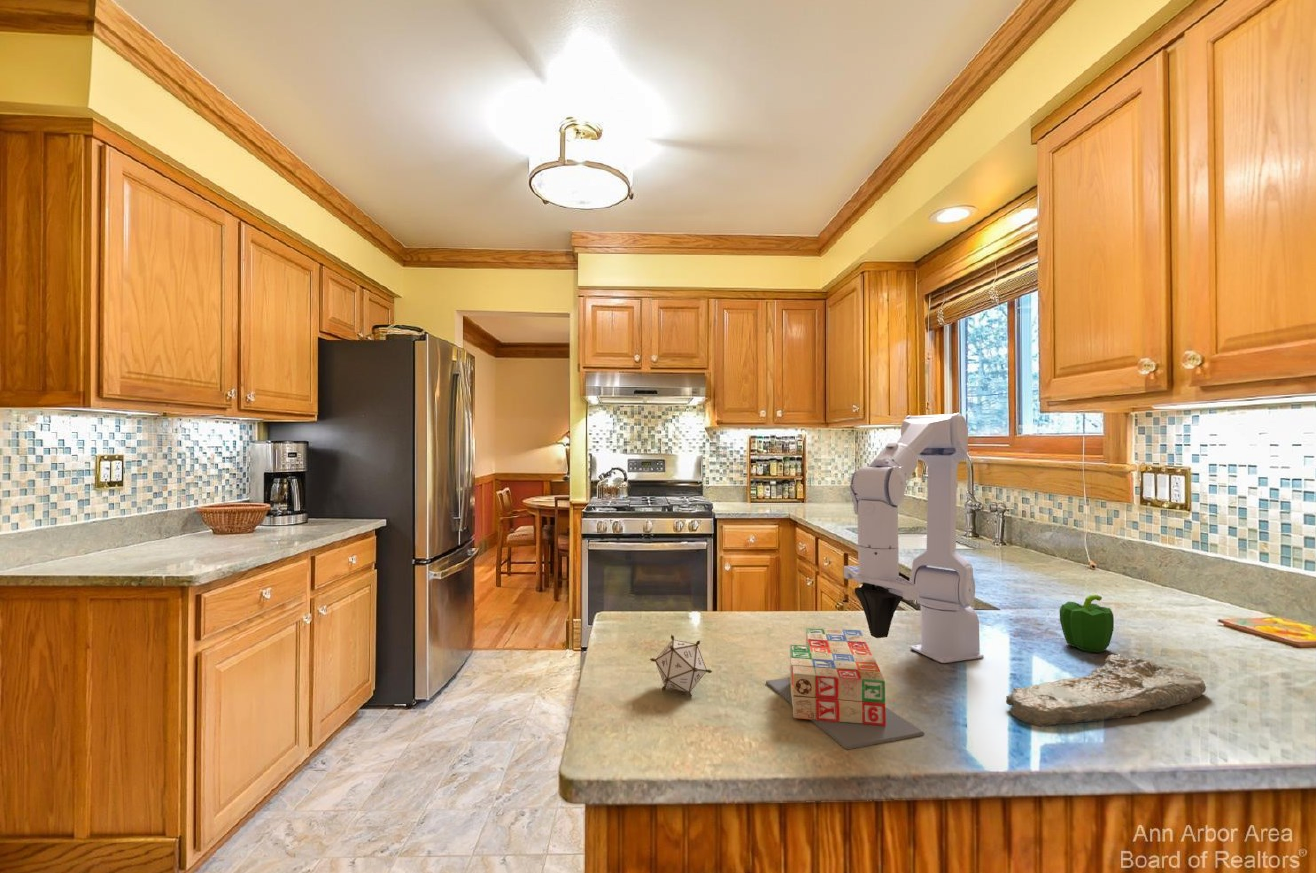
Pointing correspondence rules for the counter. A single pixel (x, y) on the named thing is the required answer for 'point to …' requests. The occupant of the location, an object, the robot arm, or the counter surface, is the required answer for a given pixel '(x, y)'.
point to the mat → (856, 724)
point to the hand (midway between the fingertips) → (879, 636)
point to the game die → (681, 665)
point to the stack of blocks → (836, 679)
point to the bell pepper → (1087, 624)
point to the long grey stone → (1106, 693)
